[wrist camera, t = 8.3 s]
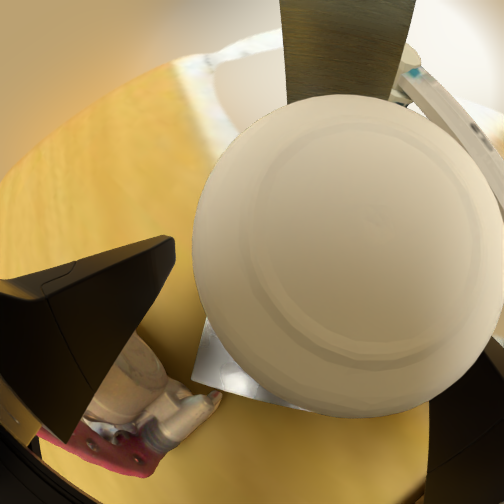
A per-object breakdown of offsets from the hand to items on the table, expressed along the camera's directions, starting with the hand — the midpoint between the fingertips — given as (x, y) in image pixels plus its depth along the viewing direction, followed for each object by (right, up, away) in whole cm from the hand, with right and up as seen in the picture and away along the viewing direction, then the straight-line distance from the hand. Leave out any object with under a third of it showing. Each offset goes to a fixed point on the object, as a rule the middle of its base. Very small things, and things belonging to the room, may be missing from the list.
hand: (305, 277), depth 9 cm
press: (-1, -1, +10) cm, 10 cm away
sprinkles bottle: (+2, -2, +7) cm, 8 cm away
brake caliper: (-10, -8, +9) cm, 16 cm away
